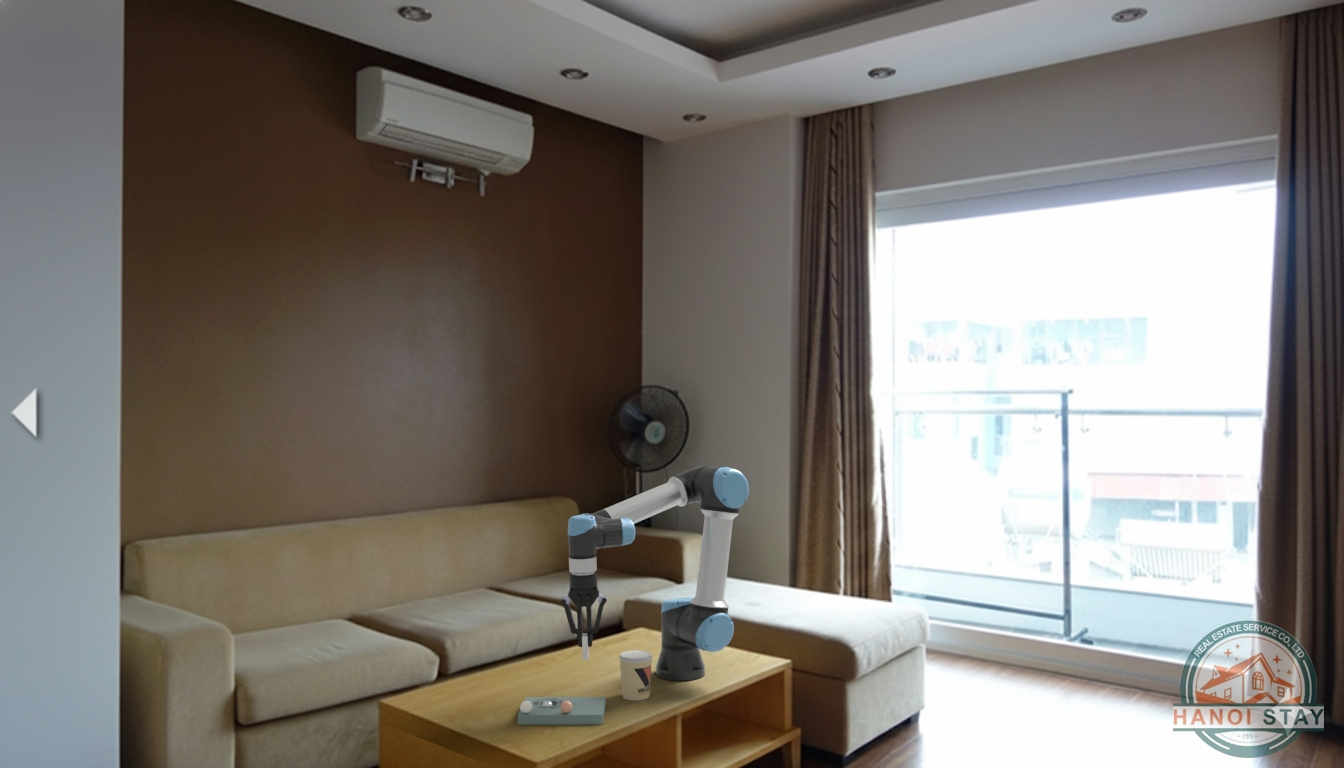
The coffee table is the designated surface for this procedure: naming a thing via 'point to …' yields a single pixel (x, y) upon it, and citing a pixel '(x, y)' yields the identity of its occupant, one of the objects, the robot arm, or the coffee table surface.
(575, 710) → the board
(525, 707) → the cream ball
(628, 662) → the coffee cup
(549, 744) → the coffee table surface
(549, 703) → the steel ball
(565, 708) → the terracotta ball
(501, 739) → the coffee table surface
